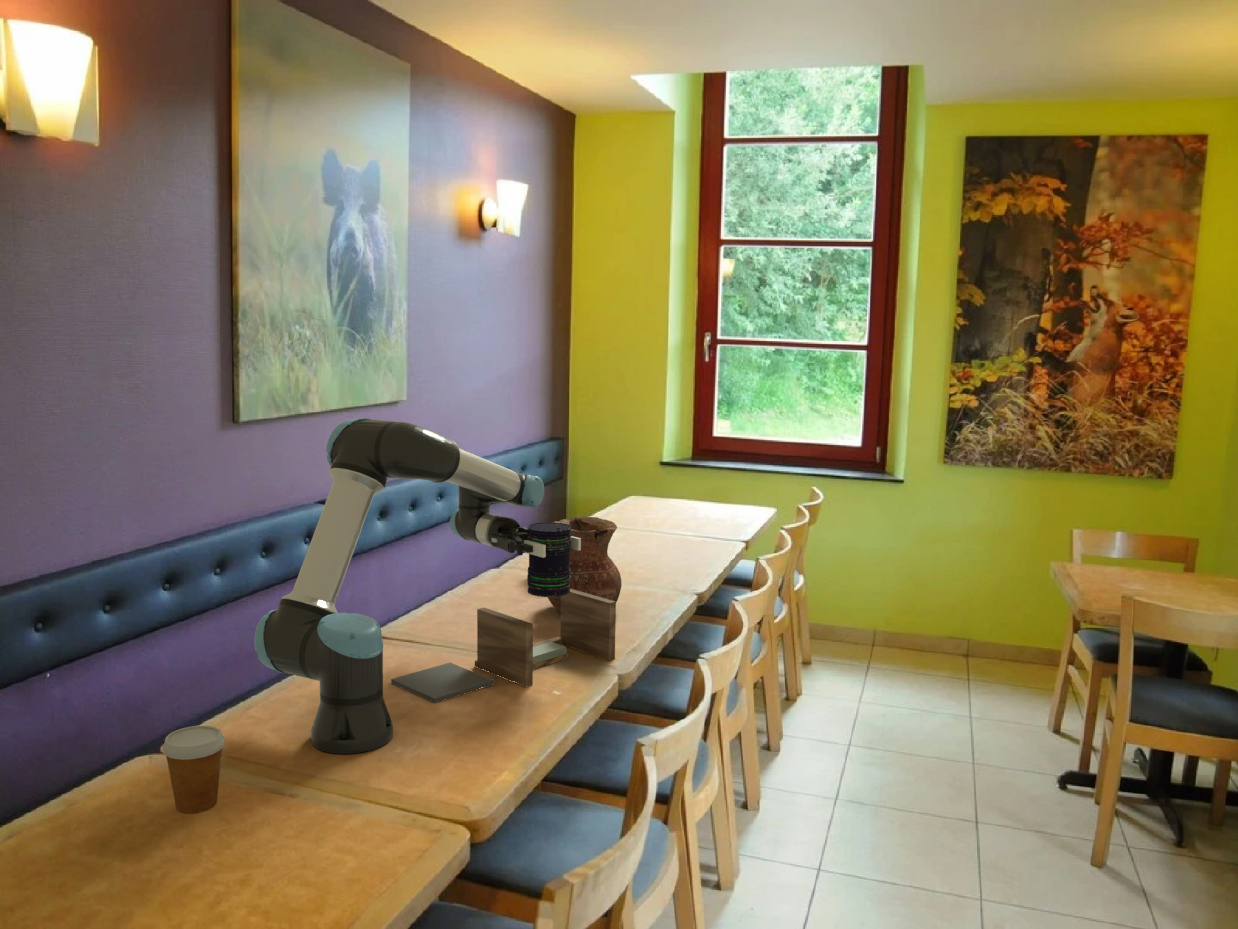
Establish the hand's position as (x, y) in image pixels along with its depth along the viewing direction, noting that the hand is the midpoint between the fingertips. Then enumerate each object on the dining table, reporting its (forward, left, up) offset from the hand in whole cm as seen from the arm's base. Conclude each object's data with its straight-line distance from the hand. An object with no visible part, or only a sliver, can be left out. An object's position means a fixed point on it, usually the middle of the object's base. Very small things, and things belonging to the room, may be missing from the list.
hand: (562, 547), depth 230 cm
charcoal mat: (-22, +15, -30) cm, 40 cm away
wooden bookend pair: (+4, +10, -30) cm, 32 cm away
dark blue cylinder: (0, +4, -11) cm, 12 cm away
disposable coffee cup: (-85, -3, -30) cm, 90 cm away
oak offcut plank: (+4, +11, -31) cm, 33 cm away
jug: (+40, +35, -30) cm, 61 cm away
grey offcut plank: (+4, +11, -29) cm, 31 cm away
